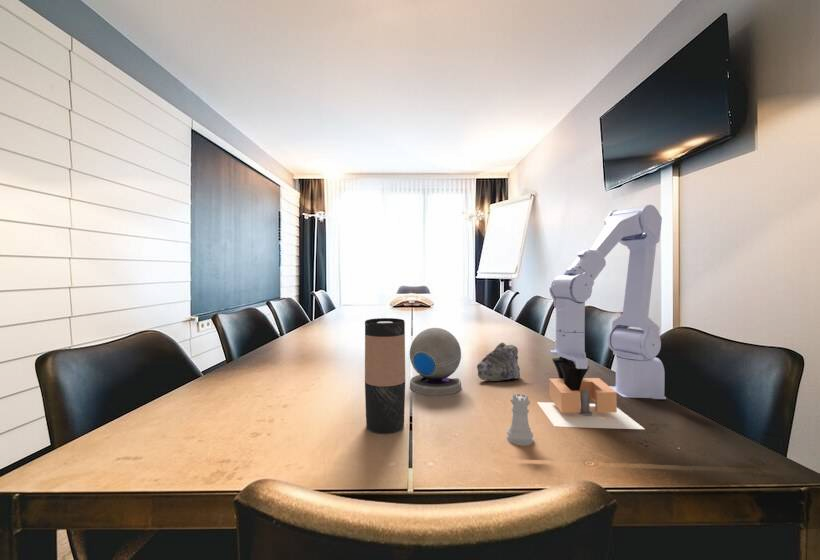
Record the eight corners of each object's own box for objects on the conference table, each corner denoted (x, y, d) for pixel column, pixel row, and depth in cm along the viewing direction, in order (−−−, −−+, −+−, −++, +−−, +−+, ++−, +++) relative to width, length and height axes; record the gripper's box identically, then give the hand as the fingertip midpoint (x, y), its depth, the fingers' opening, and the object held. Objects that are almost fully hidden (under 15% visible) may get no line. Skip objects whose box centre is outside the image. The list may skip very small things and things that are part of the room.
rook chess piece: (535, 449, 62) (535, 401, 61) (507, 447, 63) (507, 399, 62) (532, 437, 66) (532, 392, 66) (505, 435, 67) (506, 390, 67)
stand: (612, 406, 81) (612, 383, 81) (645, 431, 68) (645, 404, 68) (536, 404, 83) (537, 381, 82) (554, 429, 70) (554, 402, 70)
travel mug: (410, 420, 74) (410, 318, 73) (396, 437, 66) (396, 324, 66) (375, 416, 76) (374, 317, 76) (357, 431, 69) (357, 322, 68)
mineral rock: (478, 385, 97) (478, 346, 96) (470, 374, 107) (470, 339, 107) (528, 385, 97) (528, 346, 97) (515, 373, 108) (515, 338, 108)
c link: (616, 412, 73) (616, 392, 73) (561, 412, 74) (561, 392, 74) (598, 396, 81) (598, 378, 81) (549, 396, 82) (549, 378, 82)
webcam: (469, 384, 97) (469, 326, 97) (446, 398, 87) (446, 333, 86) (425, 377, 104) (425, 323, 104) (399, 389, 93) (399, 329, 93)
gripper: (541, 325, 88) (541, 383, 88) (561, 336, 73) (561, 405, 74) (572, 326, 87) (572, 384, 88) (599, 336, 73) (598, 406, 73)
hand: (569, 394), depth 81 cm, fingers closed on c link, 2 cm apart
